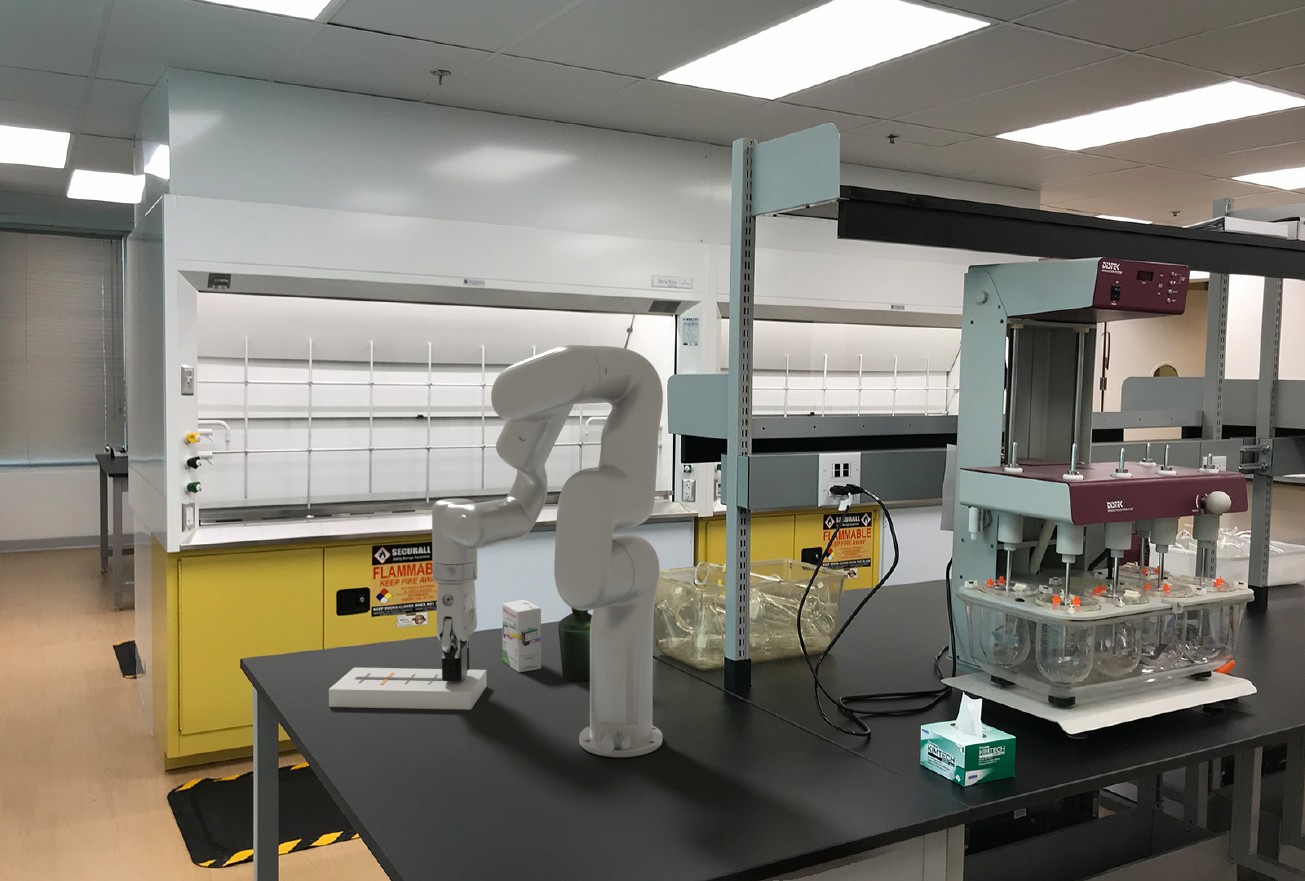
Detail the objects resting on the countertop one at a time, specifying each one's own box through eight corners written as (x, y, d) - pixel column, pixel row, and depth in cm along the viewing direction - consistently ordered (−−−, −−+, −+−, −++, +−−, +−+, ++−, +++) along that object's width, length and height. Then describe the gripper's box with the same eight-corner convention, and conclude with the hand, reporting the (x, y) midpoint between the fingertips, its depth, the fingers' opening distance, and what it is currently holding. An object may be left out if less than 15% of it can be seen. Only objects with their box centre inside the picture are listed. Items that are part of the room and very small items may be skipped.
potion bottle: (600, 683, 173) (600, 585, 172) (555, 682, 173) (555, 584, 172) (603, 669, 181) (603, 575, 180) (560, 668, 181) (560, 575, 180)
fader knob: (461, 681, 162) (461, 649, 162) (444, 681, 163) (443, 648, 162) (467, 674, 167) (467, 642, 166) (450, 674, 167) (450, 642, 166)
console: (471, 709, 159) (470, 691, 158) (329, 706, 160) (328, 688, 159) (486, 686, 171) (486, 669, 170) (354, 683, 172) (354, 667, 171)
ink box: (501, 661, 186) (500, 601, 185) (524, 657, 188) (524, 598, 188) (518, 673, 178) (517, 611, 178) (542, 669, 181) (542, 608, 180)
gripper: (465, 582, 155) (465, 692, 156) (487, 562, 172) (487, 661, 173) (419, 581, 155) (420, 691, 156) (446, 561, 172) (447, 660, 173)
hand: (455, 674), depth 165 cm, fingers open, 4 cm apart
